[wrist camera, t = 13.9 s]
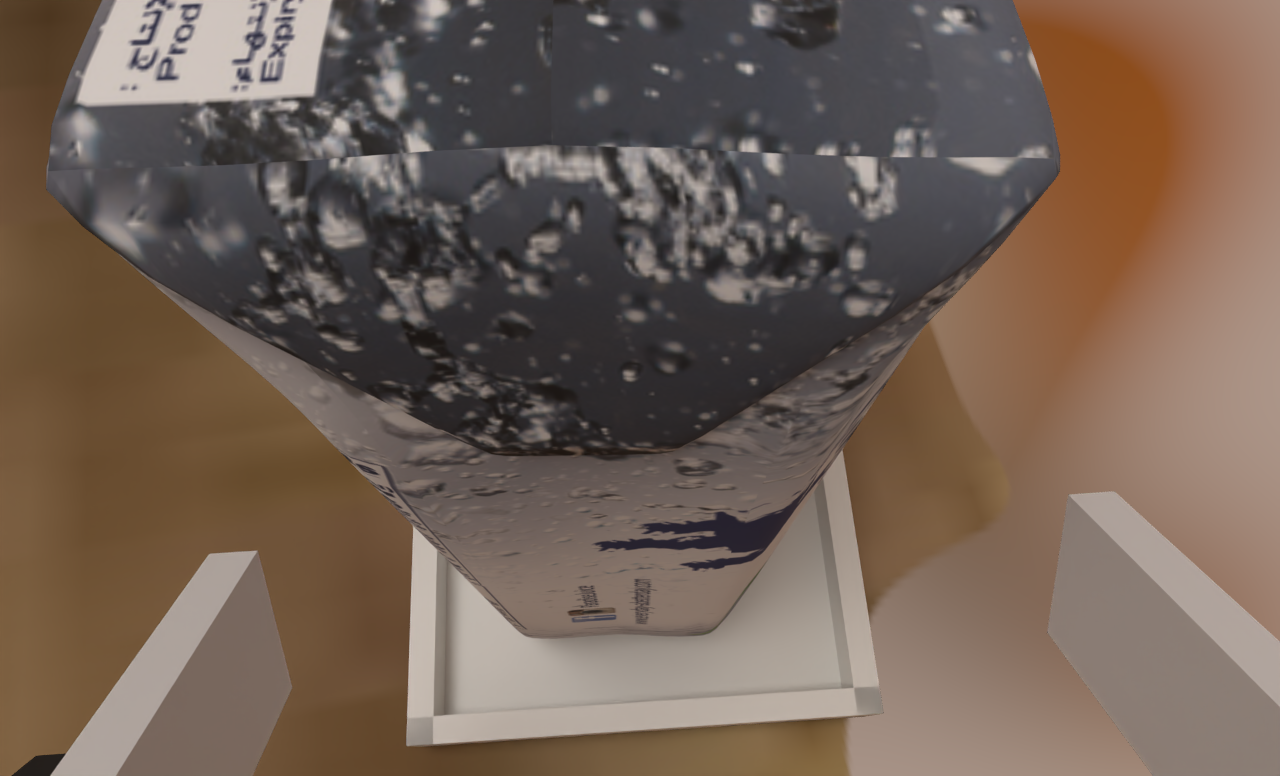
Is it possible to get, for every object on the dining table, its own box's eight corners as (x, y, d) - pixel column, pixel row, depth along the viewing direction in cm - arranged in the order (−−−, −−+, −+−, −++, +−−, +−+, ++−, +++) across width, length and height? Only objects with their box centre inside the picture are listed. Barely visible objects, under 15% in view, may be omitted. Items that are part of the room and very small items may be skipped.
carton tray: (435, 321, 35) (420, 291, 33) (802, 300, 36) (814, 269, 33) (424, 746, 29) (406, 746, 27) (864, 716, 30) (883, 713, 27)
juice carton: (486, 657, 30) (-320, 151, 5) (500, 367, 34) (100, -742, 9) (753, 652, 30) (1353, 130, 5) (735, 363, 34) (1014, -749, 9)
